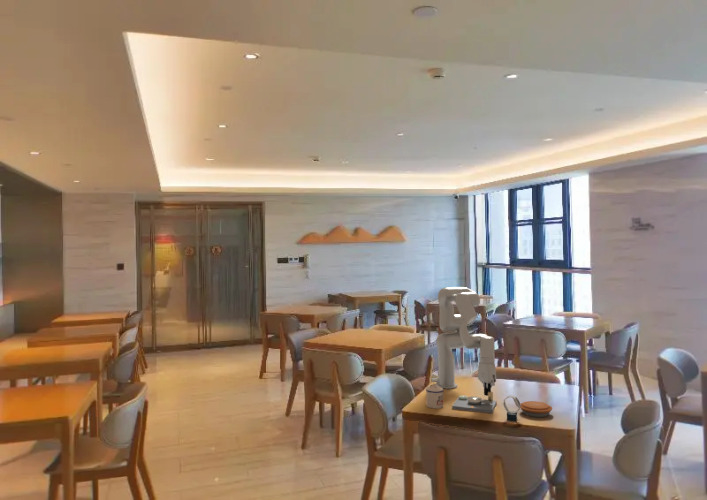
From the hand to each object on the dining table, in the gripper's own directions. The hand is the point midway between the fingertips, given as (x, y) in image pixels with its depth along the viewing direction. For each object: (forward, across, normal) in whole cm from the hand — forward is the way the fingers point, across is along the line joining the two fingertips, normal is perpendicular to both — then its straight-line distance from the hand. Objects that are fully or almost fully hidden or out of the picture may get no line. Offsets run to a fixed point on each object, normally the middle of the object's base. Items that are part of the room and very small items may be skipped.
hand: (487, 395), depth 276 cm
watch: (+5, +25, -4) cm, 26 cm away
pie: (+5, +22, +12) cm, 26 cm away
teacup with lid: (+5, -9, -26) cm, 28 cm away
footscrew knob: (+3, +2, -6) cm, 7 cm away
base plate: (+5, 0, -8) cm, 9 cm away
